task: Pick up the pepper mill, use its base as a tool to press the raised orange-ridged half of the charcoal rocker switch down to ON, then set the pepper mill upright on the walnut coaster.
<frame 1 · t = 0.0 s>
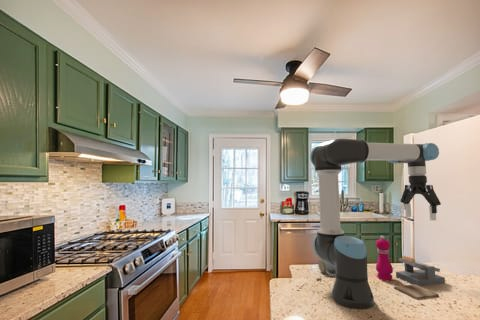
hand: (420, 218, 130), 28 cm above the countertop, tool pointing down, fingers open, 13 cm apart
switch housing: (419, 280, 124), on the countertop
ceramic mug: (330, 273, 134), on the countertop
pepper mill: (384, 278, 126), on the countertop
coaster: (415, 292, 110), on the countertop
breaker rocker: (418, 264, 124), point 7 cm above the countertop, hinge at 15.0°
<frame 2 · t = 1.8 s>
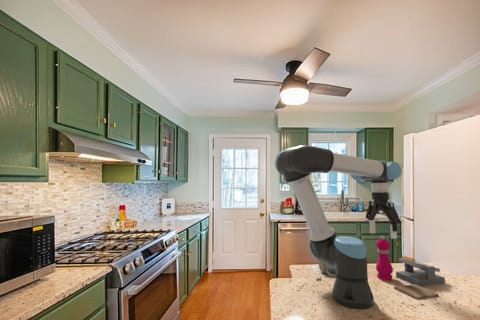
hand: (382, 235, 128), 20 cm above the countertop, tool pointing down, fingers open, 13 cm apart
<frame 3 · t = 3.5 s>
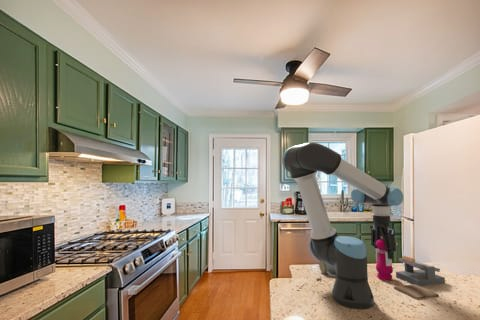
hand: (383, 263, 127), 7 cm above the countertop, tool pointing down, fingers closed on pepper mill, 6 cm apart
pepper mill: (384, 278, 126), on the countertop, touching gripper
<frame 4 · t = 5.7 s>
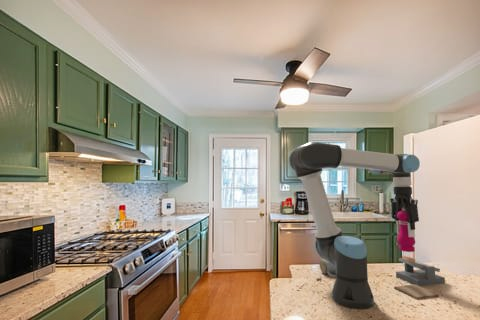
hand: (405, 235, 125), 21 cm above the countertop, tool pointing down, fingers closed on pepper mill, 6 cm apart
pepper mill: (406, 250, 124), point 14 cm above the countertop, touching gripper
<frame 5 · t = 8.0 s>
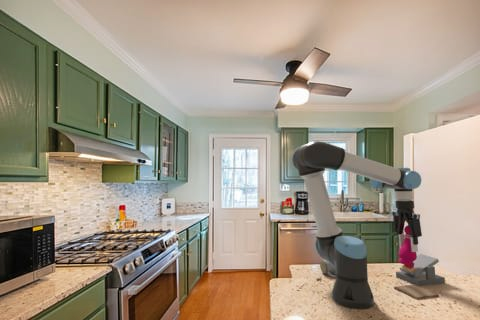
hand: (408, 249, 124), 14 cm above the countertop, tool pointing down, fingers closed on pepper mill, 6 cm apart
pepper mill: (405, 265, 123), point 7 cm above the countertop, touching breaker rocker, gripper
breaker rocker: (418, 264, 124), point 7 cm above the countertop, hinge at -23.5°, touching pepper mill
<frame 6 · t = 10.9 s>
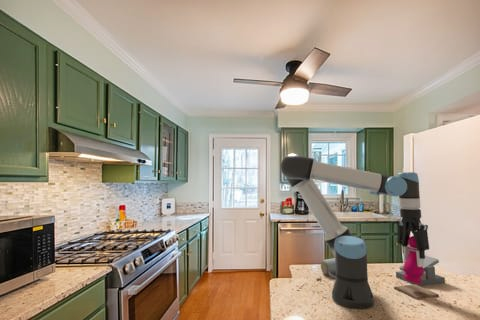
hand: (414, 263, 111), 12 cm above the countertop, tool pointing down, fingers closed on pepper mill, 6 cm apart
pepper mill: (412, 281, 110), point 5 cm above the countertop, touching gripper
breaker rocker: (418, 264, 124), point 7 cm above the countertop, hinge at -21.6°
when the fingers open (9 cm above the countertop, at t = 11.7 s): pepper mill drops 1 cm, resting on coaster.
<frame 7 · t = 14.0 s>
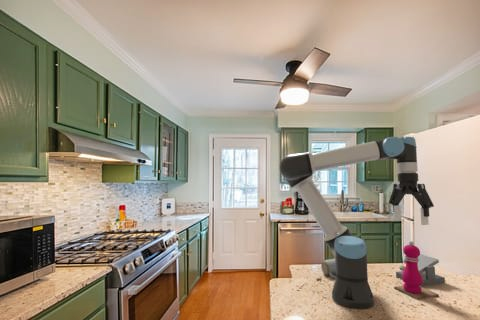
hand: (410, 222, 113), 29 cm above the countertop, tool pointing down, fingers open, 13 cm apart
pepper mill: (412, 290, 110), point 1 cm above the countertop, touching coaster
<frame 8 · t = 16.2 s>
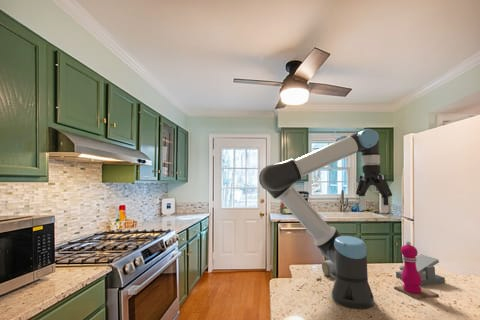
hand: (373, 211, 120), 33 cm above the countertop, tool pointing down, fingers open, 13 cm apart
at the end: breaker rocker at -22° (first picture: +15°); pepper mill 1.6 cm off-centre on the coaster, point 0.7 cm above the coaster's base; pepper mill tilted 1° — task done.
